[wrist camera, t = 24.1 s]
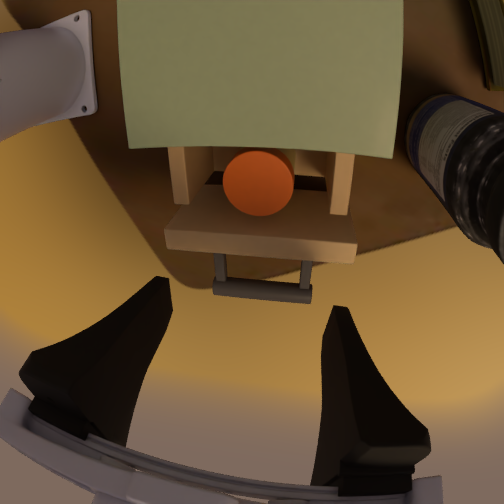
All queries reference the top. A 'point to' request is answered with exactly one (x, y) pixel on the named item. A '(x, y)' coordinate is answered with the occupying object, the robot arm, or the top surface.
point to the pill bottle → (462, 163)
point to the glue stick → (260, 179)
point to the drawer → (262, 220)
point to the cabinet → (262, 73)
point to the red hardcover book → (491, 39)
